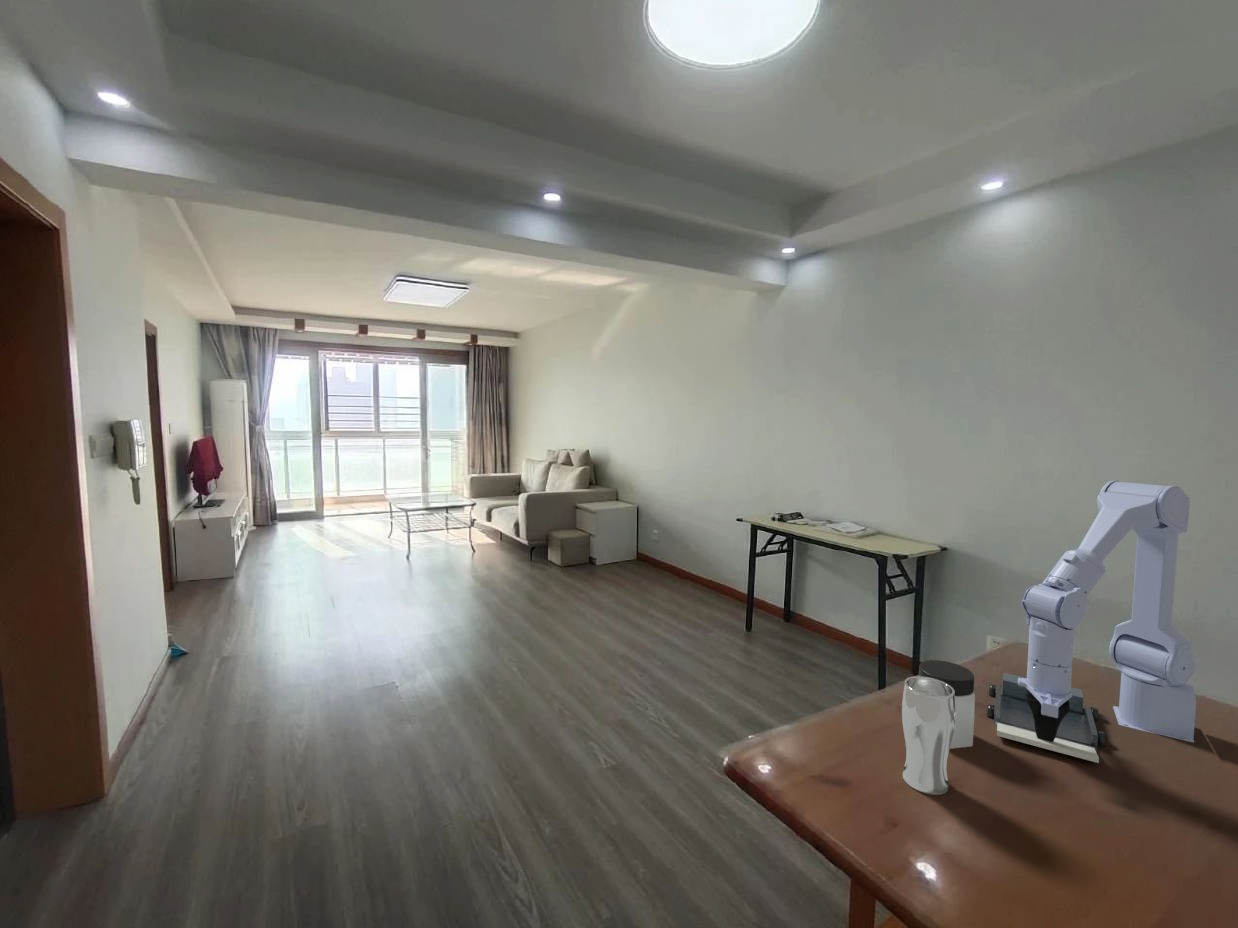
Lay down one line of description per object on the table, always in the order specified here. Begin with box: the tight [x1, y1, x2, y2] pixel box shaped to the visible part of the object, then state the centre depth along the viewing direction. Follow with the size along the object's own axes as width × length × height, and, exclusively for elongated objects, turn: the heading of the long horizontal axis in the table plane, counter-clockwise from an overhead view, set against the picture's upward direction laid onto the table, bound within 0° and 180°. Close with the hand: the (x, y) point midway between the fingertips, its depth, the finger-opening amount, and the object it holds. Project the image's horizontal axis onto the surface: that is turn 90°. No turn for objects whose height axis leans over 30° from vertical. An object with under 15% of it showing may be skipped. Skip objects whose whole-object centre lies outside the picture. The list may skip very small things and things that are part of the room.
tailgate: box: [994, 721, 1100, 764], centre depth 92 cm, size 14×1×7 cm
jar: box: [918, 659, 976, 750], centre depth 95 cm, size 9×8×12 cm
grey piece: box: [986, 672, 1106, 750], centre depth 101 cm, size 16×16×4 cm
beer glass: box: [901, 675, 955, 796], centre depth 83 cm, size 7×7×15 cm
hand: (1044, 739), depth 91 cm, fingers closed, pressing on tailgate
